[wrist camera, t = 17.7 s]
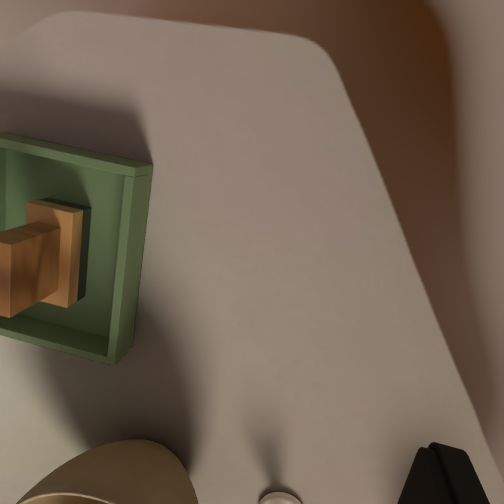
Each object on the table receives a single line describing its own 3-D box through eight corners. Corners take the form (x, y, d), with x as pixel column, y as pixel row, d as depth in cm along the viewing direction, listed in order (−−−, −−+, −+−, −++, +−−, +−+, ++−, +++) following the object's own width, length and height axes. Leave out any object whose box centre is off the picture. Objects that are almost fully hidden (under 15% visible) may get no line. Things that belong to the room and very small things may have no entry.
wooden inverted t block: (48, 197, 38) (-32, 214, 30) (92, 207, 38) (23, 227, 29) (44, 285, 41) (-30, 324, 32) (85, 296, 40) (20, 338, 32)
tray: (5, 132, 38) (-29, 131, 34) (153, 164, 36) (135, 167, 33) (3, 312, 43) (-26, 327, 40) (132, 347, 42) (114, 366, 38)
